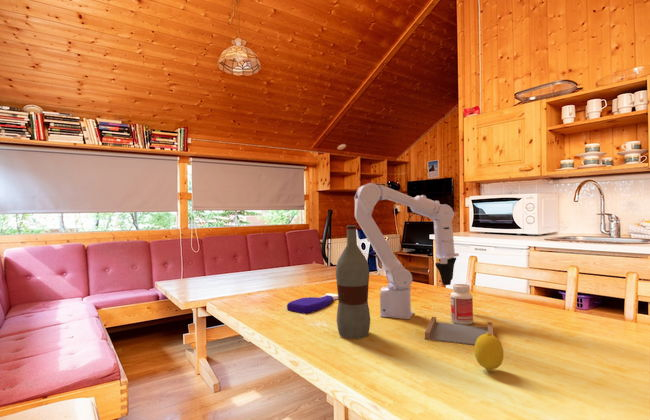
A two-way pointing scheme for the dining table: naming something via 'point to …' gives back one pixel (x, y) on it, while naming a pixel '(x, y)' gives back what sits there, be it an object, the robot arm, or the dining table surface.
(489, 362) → the lemon
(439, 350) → the dining table surface
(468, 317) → the pill bottle
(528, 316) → the dining table surface
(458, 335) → the grey tray
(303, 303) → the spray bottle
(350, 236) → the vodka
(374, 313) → the dining table surface
